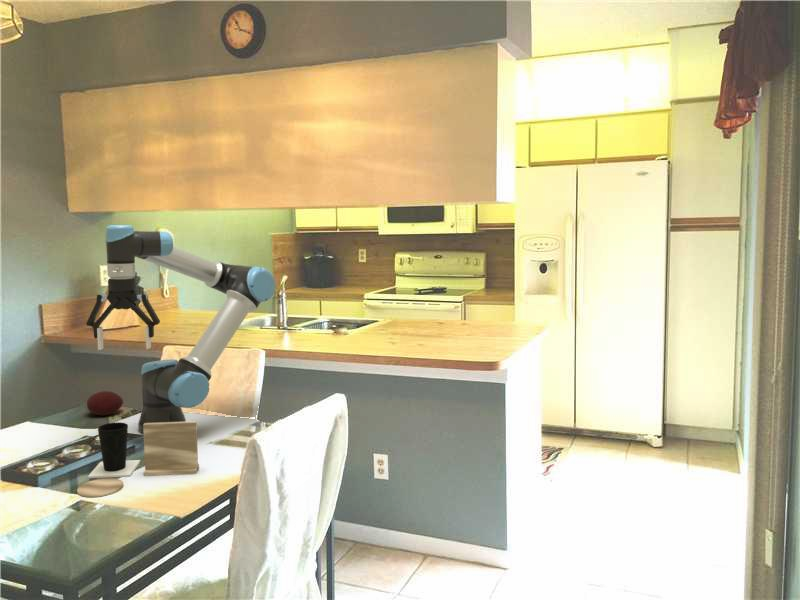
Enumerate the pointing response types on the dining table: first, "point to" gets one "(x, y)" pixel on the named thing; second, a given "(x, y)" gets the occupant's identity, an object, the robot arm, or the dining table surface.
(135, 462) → the stone coaster
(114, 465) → the cup
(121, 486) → the cork coaster
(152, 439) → the screen
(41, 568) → the dining table surface
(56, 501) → the dining table surface
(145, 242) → the robot arm
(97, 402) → the potato
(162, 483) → the dining table surface
